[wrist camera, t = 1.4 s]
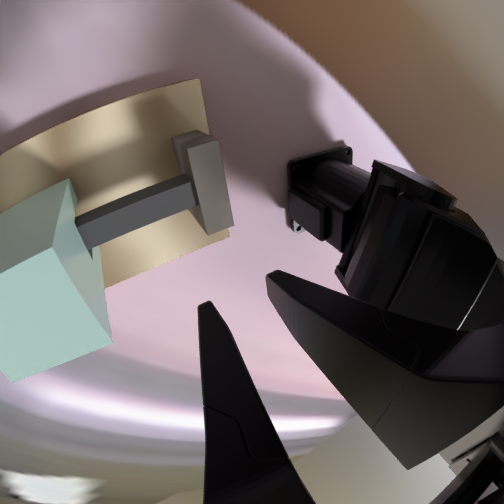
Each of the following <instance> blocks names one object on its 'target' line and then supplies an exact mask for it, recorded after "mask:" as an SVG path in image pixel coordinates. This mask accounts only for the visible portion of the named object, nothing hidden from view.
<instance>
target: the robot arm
mask: <svg viewBox="0 0 504 504" xmlns="http://www.w3.org/2000/svg"><path fill="white" fill-rule="evenodd" d="M346 152H347V153H346ZM352 156H353V151H352V148H351V147H349V146H342V147H338V148H335V149H331V150H327V151H323V152H319V153H315V154H312V155H308V156H304V157H301V158H297V159H294V160H291V161H290V162H289V163H288V165H287V172H288V185H289V189H288V200H289V215H290V218H291V229H292V231H293V232H295V233H297V234H298V233H301V232H303V231H306V230H307V231H308V232H309V233H311V234H312V235H313V236H314V237H316V238H317V239H318V240H320V241H324V240H326V241H327V242H328V243H329V244H331V245H332V246H333V247H335V248H336V249H337V250H338V251H340V252H341V253H343V255H342V257H341V260H340V262H339V265H337V267H336V269H335V274H336V276H337V277H338V279H339V280H340V282H341V284H342V285H343V287H344V288H345V290H346V291H347V293H348V295H349V296H347V295H345V294H342V293H339V292H337V291H334V290H331V289H329V288H326V287H323V286H321V285H318V284H315V283H313V282H310V281H307V280H305V279H302V278H299V277H297V276H294V275H291V274H289V273H286V272H283V271H281V270H275V271H273V272H271V273H269V274H267V275H266V286H267V293H268V297H269V299H270V301H271V302H272V304H273V306H274V307H275V309H276V310H277V312H278V314H279V315H280V317H281V318H282V320H283V321H284V323H285V325H286V326H287V328H288V329H289V331H290V332H291V334H292V335H293V337H294V338H295V340H296V341H297V342H298V343H299V345H300V346H301V347H302V348H303V349H304V351H305V352H306V353H307V354H308V355H309V357H310V358H311V359H312V360H313V361H314V363H315V364H316V365H317V366H318V367H319V369H320V370H321V371H322V372H323V373H324V375H325V376H326V377H327V378H328V379H329V380H330V382H331V383H332V384H333V385H334V386H335V388H336V389H337V390H338V391H339V392H340V393H341V395H342V396H343V397H344V398H345V399H346V400H347V402H348V403H349V404H350V405H351V406H352V407H353V409H354V410H355V411H356V412H357V413H358V414H359V416H360V417H361V418H362V419H363V420H364V421H365V423H366V424H367V425H368V426H369V427H370V428H371V429H372V431H373V432H374V433H375V434H376V435H377V436H378V438H379V439H380V440H381V441H382V442H383V443H384V444H385V446H386V447H387V448H388V449H389V450H390V451H391V452H392V454H393V455H394V456H395V457H396V458H397V459H398V460H399V461H400V462H401V464H402V465H403V466H404V467H405V468H406V469H407V470H409V469H411V468H413V467H415V466H416V465H418V464H420V463H422V462H424V461H426V460H427V459H429V458H431V457H432V456H434V455H436V454H438V453H439V454H440V455H441V456H442V457H443V458H444V460H445V461H446V462H447V463H448V464H449V468H450V469H451V470H452V471H453V472H454V473H455V474H456V475H457V476H456V478H455V479H454V480H453V481H452V482H451V483H450V484H449V485H448V486H447V487H446V488H445V489H444V490H443V491H442V492H441V493H440V494H439V495H438V496H437V497H436V498H435V499H434V500H433V501H432V502H431V503H429V504H504V261H503V260H501V259H499V258H497V256H496V254H495V252H494V250H493V248H492V246H491V244H490V242H489V241H488V239H487V237H486V235H485V233H484V232H483V231H482V230H481V228H480V227H479V226H478V225H477V223H476V222H475V221H474V220H473V219H472V217H471V216H470V215H469V214H468V213H466V212H464V211H462V210H460V209H459V208H457V207H455V205H456V203H457V200H458V199H457V198H456V197H455V196H454V195H452V194H451V193H449V192H448V191H446V190H445V189H443V188H442V187H440V186H439V185H438V184H436V183H435V182H433V181H431V180H429V179H427V178H425V177H423V176H420V175H418V174H416V173H414V172H412V171H409V170H407V169H404V168H401V167H397V166H394V165H391V164H388V163H384V162H381V161H378V160H374V161H373V164H372V167H373V169H372V172H371V173H369V172H367V171H365V170H363V169H361V168H358V167H356V166H354V165H352ZM294 165H295V168H294V169H293V166H294ZM298 226H299V227H298ZM297 227H298V228H297ZM198 331H199V351H200V368H201V383H202V396H203V405H204V407H203V411H204V424H205V470H204V497H203V498H204V499H203V504H316V503H315V501H314V500H313V498H312V497H311V495H310V493H309V492H308V490H307V489H306V487H305V485H304V484H303V482H302V480H301V479H300V477H299V475H298V473H297V472H296V470H295V468H294V466H293V464H292V462H291V460H290V459H289V456H288V454H287V452H286V450H285V448H284V446H283V444H282V442H281V440H280V438H279V436H278V434H277V432H276V430H275V428H274V426H273V424H272V422H271V419H270V417H269V415H268V413H267V411H266V409H265V407H264V405H263V402H262V400H261V398H260V396H259V394H258V392H257V389H256V387H255V385H254V383H253V381H252V378H251V376H250V374H249V372H248V369H247V367H246V365H245V363H244V360H243V358H242V356H241V354H240V351H239V349H238V347H237V344H236V342H235V340H234V337H233V335H232V333H231V331H230V329H229V327H228V326H227V324H226V322H225V321H224V320H223V318H222V317H221V315H220V314H219V312H218V311H217V309H216V308H215V306H214V305H213V303H212V302H211V301H207V302H204V303H202V304H200V305H198Z"/></svg>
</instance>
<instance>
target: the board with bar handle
mask: <svg viewBox="0 0 504 504" xmlns="http://www.w3.org/2000/svg"><path fill="white" fill-rule="evenodd" d="M185 173H186V174H187V175H188V176H189V177H190V178H191V179H192V180H193V183H194V187H195V191H196V195H197V199H198V203H199V205H198V206H195V207H193V208H190V209H187V210H185V211H182V212H179V213H177V214H174V215H171V216H169V217H166V218H164V219H161V220H159V221H156V222H154V223H151V224H149V225H146V226H144V227H141V228H139V229H136V230H134V231H132V232H129V233H127V234H124V235H122V236H120V237H117V238H115V239H113V240H110V241H108V242H106V243H103V244H101V245H99V248H100V252H101V262H102V272H103V281H104V289H105V288H107V287H109V286H112V285H114V284H116V283H119V282H121V281H123V280H126V279H128V278H130V277H133V276H135V275H137V274H140V273H142V272H145V271H147V270H149V269H152V268H154V267H156V266H159V265H161V264H164V263H166V262H168V261H171V260H173V259H176V258H178V257H181V256H183V255H185V254H188V253H190V252H193V251H195V250H198V249H200V248H202V247H205V246H207V245H210V244H212V243H215V242H217V241H220V240H222V239H225V238H227V237H230V235H229V230H228V228H229V227H232V226H234V221H233V216H232V211H231V205H230V200H229V195H228V189H227V184H226V178H225V173H224V167H223V162H222V156H221V151H220V145H219V140H218V139H216V138H214V137H212V136H210V133H209V128H208V122H207V117H206V112H205V106H204V101H203V95H202V90H201V84H200V79H191V80H187V81H183V82H179V83H175V84H171V85H167V86H163V87H159V88H156V89H152V90H149V91H145V92H142V93H139V94H136V95H132V96H129V97H126V98H123V99H120V100H117V101H114V102H112V103H109V104H106V105H103V106H101V107H98V108H95V109H93V110H90V111H88V112H85V113H83V114H80V115H78V116H76V117H73V118H71V119H69V120H66V121H64V122H62V123H60V124H58V125H55V126H53V127H51V128H49V129H47V130H45V131H43V132H41V133H39V134H37V135H35V136H33V137H31V138H29V139H27V140H25V141H23V142H22V143H20V144H18V145H16V146H14V147H13V148H11V149H9V150H7V151H6V152H4V153H2V154H1V155H0V214H1V213H2V212H4V211H6V210H7V209H9V208H11V207H13V206H14V205H16V204H18V203H20V202H22V201H24V200H25V199H27V198H29V197H31V196H33V195H35V194H37V193H39V192H41V191H43V190H45V189H47V188H49V187H51V186H53V185H55V184H57V183H59V182H61V181H63V180H65V179H68V178H70V181H71V184H72V186H73V189H74V191H75V194H76V196H77V205H76V213H75V217H77V216H79V215H81V214H83V213H86V212H88V211H90V210H93V209H95V208H97V207H99V206H102V205H104V204H106V203H109V202H111V201H114V200H116V199H118V198H121V197H123V196H126V195H128V194H131V193H133V192H136V191H139V190H141V189H144V188H146V187H149V186H152V185H154V184H157V183H160V182H162V181H165V180H168V179H171V178H174V177H176V176H179V175H182V174H185Z"/></svg>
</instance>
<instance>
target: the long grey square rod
mask: <svg viewBox="0 0 504 504" xmlns="http://www.w3.org/2000/svg"><path fill="white" fill-rule="evenodd" d="M198 205H199V203H198V199H197V195H196V191H195V187H194V183H193V180H192V179H191V178H190V177H189V176H188V175H187V174H186V173H185V174H182V175H179V176H176V177H174V178H171V179H168V180H165V181H162V182H160V183H157V184H154V185H152V186H149V187H146V188H144V189H141V190H139V191H136V192H133V193H131V194H128V195H126V196H123V197H121V198H118V199H116V200H114V201H111V202H109V203H106V204H104V205H102V206H99V207H97V208H95V209H93V210H90V211H88V212H86V213H83V214H81V215H79V216H77V217H75V221H74V223H75V225H76V228H77V230H78V232H79V234H80V236H81V238H82V240H83V242H84V244H85V246H86V248H87V250H90V249H92V248H94V247H96V246H99V245H101V244H103V243H106V242H108V241H110V240H113V239H115V238H117V237H120V236H122V235H124V234H127V233H129V232H132V231H134V230H136V229H139V228H141V227H144V226H146V225H149V224H151V223H154V222H156V221H159V220H161V219H164V218H166V217H169V216H171V215H174V214H177V213H179V212H182V211H185V210H187V209H190V208H193V207H195V206H198Z"/></svg>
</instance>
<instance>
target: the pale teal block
mask: <svg viewBox="0 0 504 504" xmlns="http://www.w3.org/2000/svg"><path fill="white" fill-rule="evenodd" d="M76 205H77V196H76V194H75V191H74V189H73V186H72V184H71V181H70V178H68V179H65V180H63V181H61V182H59V183H57V184H55V185H53V186H51V187H49V188H47V189H45V190H43V191H41V192H39V193H37V194H35V195H33V196H31V197H29V198H27V199H25V200H24V201H22V202H20V203H18V204H16V205H14V206H13V207H11V208H9V209H7V210H6V211H4V212H2V213H1V214H0V371H1V372H2V373H3V374H4V375H6V376H7V377H8V378H9V379H10V380H11V381H12V382H15V381H18V380H20V379H23V378H26V377H28V376H31V375H34V374H36V373H39V372H42V371H44V370H47V369H49V368H52V367H54V366H57V365H60V364H62V363H65V362H67V361H70V360H72V359H75V358H77V357H80V356H82V355H85V354H87V353H90V352H92V351H95V350H97V349H100V348H102V347H105V346H107V345H109V344H112V343H113V338H112V333H111V328H110V322H109V316H108V310H107V303H106V296H105V289H104V281H103V272H102V262H101V252H100V248H99V246H96V247H94V248H92V249H90V250H87V248H86V246H85V244H84V242H83V240H82V238H81V236H80V234H79V232H78V230H77V228H76V225H75V223H74V221H75V213H76Z"/></svg>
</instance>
